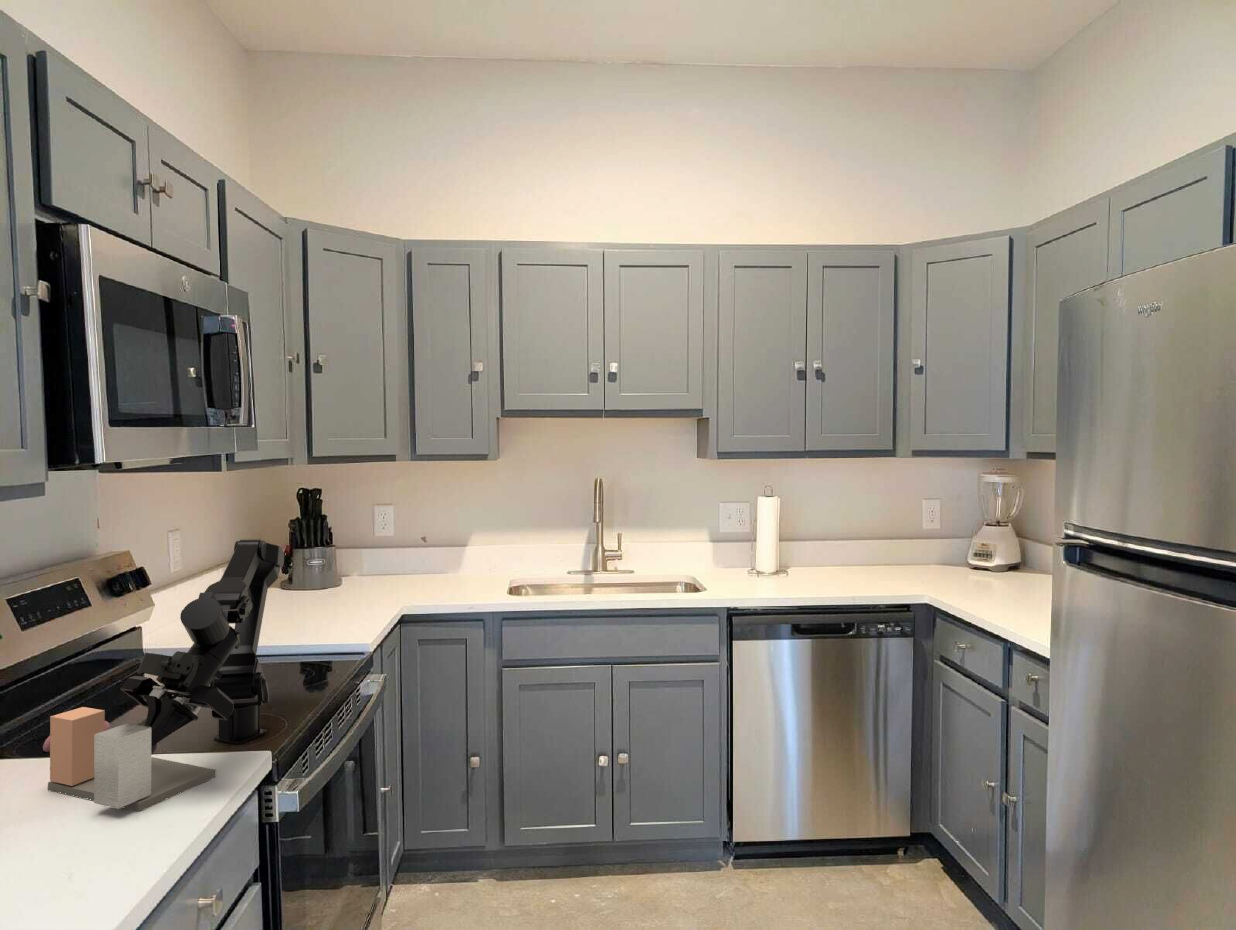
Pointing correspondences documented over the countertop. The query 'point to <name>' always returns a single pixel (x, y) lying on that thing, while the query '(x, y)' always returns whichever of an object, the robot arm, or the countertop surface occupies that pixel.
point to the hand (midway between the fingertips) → (141, 748)
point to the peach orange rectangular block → (74, 744)
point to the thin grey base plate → (164, 783)
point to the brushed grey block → (122, 765)
